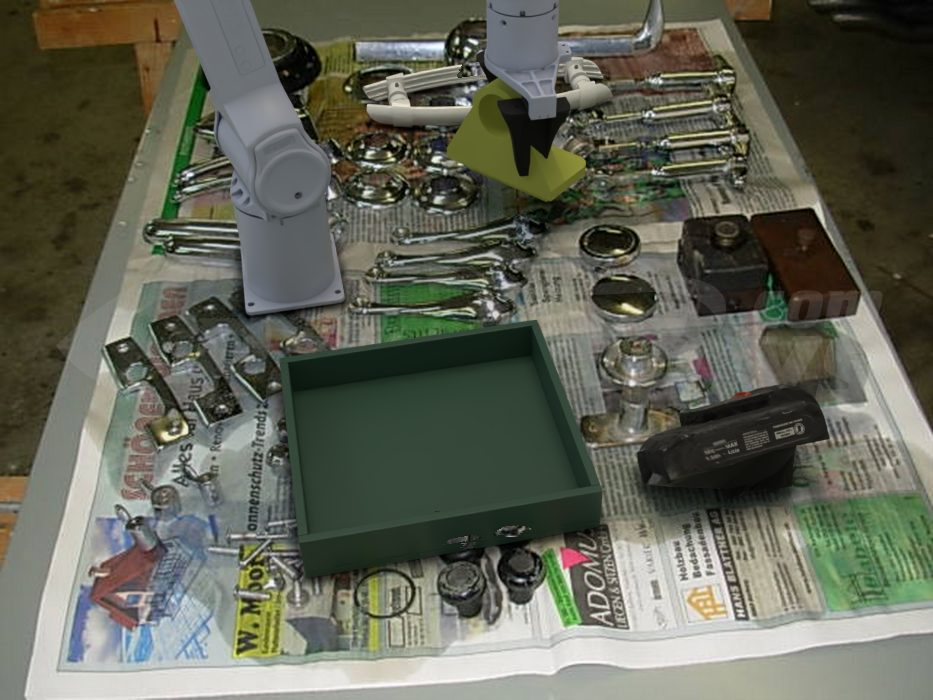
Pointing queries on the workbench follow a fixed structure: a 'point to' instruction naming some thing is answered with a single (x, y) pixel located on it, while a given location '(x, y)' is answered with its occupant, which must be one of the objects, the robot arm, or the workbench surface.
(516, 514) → the parts tray
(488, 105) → the bracket
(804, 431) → the battery
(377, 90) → the door handle
